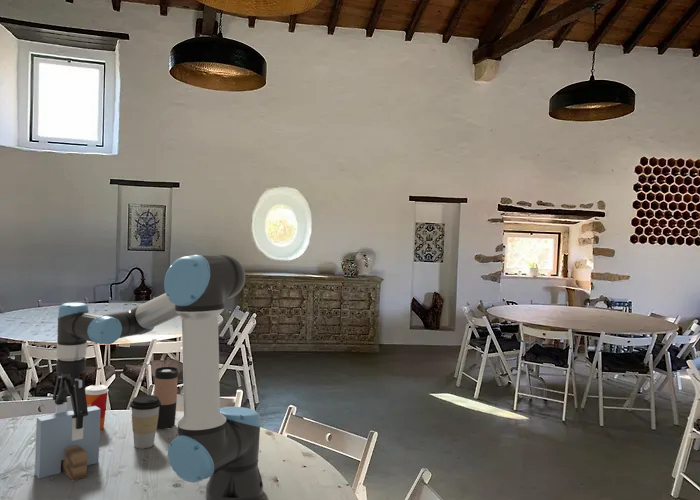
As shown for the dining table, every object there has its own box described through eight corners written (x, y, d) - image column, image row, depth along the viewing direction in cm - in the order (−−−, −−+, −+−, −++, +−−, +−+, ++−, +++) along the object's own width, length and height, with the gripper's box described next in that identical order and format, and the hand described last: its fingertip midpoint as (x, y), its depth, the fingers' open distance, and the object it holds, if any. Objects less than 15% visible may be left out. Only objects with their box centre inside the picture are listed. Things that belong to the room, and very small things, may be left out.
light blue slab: (98, 462, 162) (100, 408, 161) (39, 478, 150) (41, 420, 149) (93, 458, 164) (95, 405, 164) (34, 474, 153) (36, 417, 152)
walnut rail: (86, 477, 152) (87, 452, 152) (73, 481, 150) (74, 455, 150) (61, 456, 165) (62, 433, 164) (49, 459, 162) (50, 435, 162)
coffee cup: (148, 452, 171) (151, 405, 170) (121, 448, 173) (123, 401, 172) (165, 441, 180) (167, 396, 179) (139, 437, 182) (141, 392, 181)
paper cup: (82, 425, 189) (84, 385, 189) (106, 423, 193) (108, 383, 192) (82, 433, 182) (83, 391, 182) (107, 431, 185) (109, 390, 185)
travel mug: (153, 422, 196) (155, 366, 195) (175, 421, 198) (178, 366, 197) (152, 430, 188) (154, 372, 188) (175, 429, 191) (178, 372, 190)
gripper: (103, 364, 150) (99, 442, 151) (69, 347, 167) (66, 417, 168) (74, 368, 145) (71, 449, 146) (42, 350, 161) (39, 423, 162)
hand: (68, 432), depth 157 cm, fingers open, 12 cm apart
